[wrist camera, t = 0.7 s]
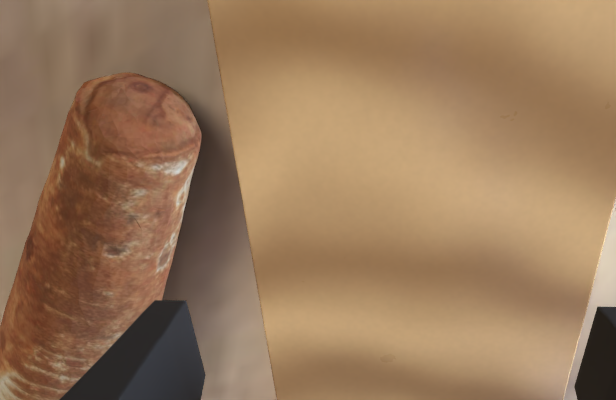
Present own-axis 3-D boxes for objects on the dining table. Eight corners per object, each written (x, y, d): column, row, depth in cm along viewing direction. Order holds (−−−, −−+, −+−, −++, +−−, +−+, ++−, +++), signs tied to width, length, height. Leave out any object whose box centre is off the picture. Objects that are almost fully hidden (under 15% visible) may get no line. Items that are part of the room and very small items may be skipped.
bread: (11, 373, 28) (-63, 481, 23) (95, 30, 17) (-7, 99, 13) (131, 416, 29) (84, 528, 24) (275, 116, 18) (242, 208, 14)
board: (537, 439, 26) (545, 469, 25) (290, 430, 28) (286, 458, 27) (656, -63, 15) (682, -54, 13) (216, -32, 16) (203, -21, 15)
